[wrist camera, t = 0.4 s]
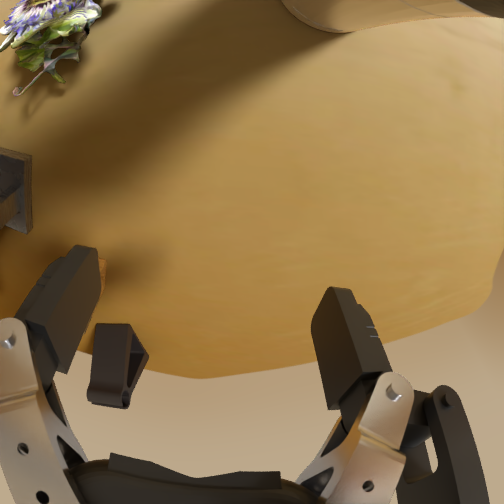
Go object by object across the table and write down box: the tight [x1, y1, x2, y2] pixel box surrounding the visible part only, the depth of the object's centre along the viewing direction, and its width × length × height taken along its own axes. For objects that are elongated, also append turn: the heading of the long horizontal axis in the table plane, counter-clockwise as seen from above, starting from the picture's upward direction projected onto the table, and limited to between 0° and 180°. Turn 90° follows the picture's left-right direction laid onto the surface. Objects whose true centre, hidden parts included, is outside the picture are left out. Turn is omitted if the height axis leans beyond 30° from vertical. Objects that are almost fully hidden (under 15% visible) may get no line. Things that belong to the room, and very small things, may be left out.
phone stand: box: [87, 324, 149, 409], centre depth 37 cm, size 9×6×12 cm, turn 4°
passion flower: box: [0, 0, 102, 96], centre depth 13 cm, size 11×11×12 cm
